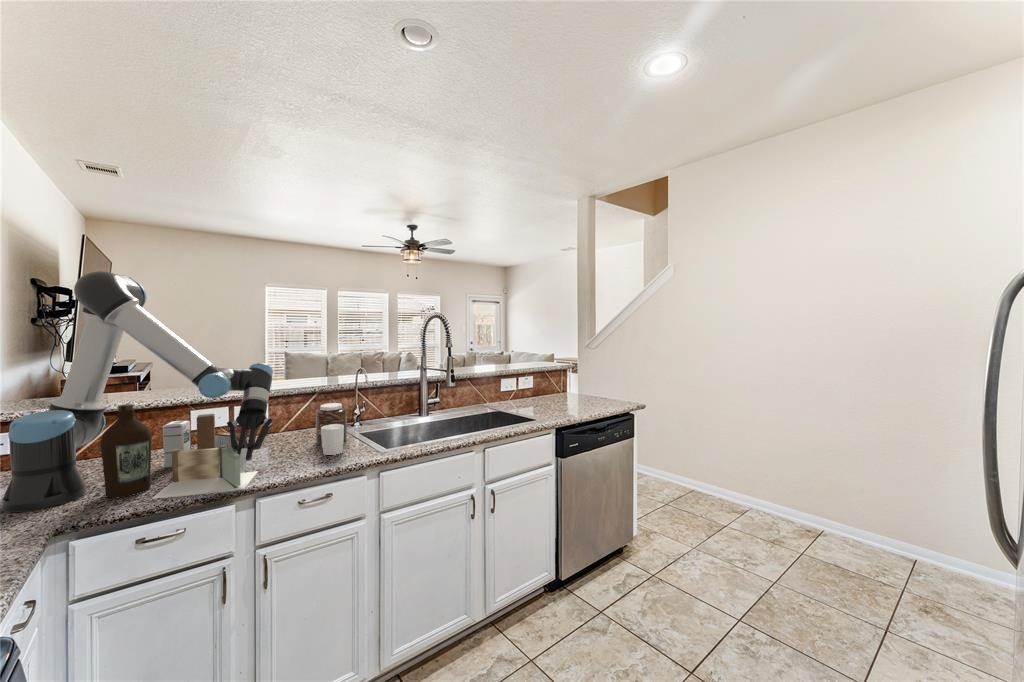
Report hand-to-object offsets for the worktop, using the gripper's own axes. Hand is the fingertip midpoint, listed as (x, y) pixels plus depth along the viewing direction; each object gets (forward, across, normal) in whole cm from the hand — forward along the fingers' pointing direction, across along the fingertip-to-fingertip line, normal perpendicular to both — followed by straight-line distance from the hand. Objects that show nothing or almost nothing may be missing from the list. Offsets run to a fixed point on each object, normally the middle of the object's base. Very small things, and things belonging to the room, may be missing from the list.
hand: (241, 470), depth 122 cm
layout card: (+1, +9, -5) cm, 10 cm away
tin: (-20, +13, -27) cm, 35 cm away
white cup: (-13, -23, -20) cm, 33 cm away
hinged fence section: (+1, +3, -4) cm, 5 cm away
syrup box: (-16, +26, -22) cm, 38 cm away
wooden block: (-9, +17, -16) cm, 25 cm away
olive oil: (0, +29, -6) cm, 30 cm away
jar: (-25, -21, -32) cm, 46 cm away
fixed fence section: (-2, +13, -9) cm, 16 cm away
